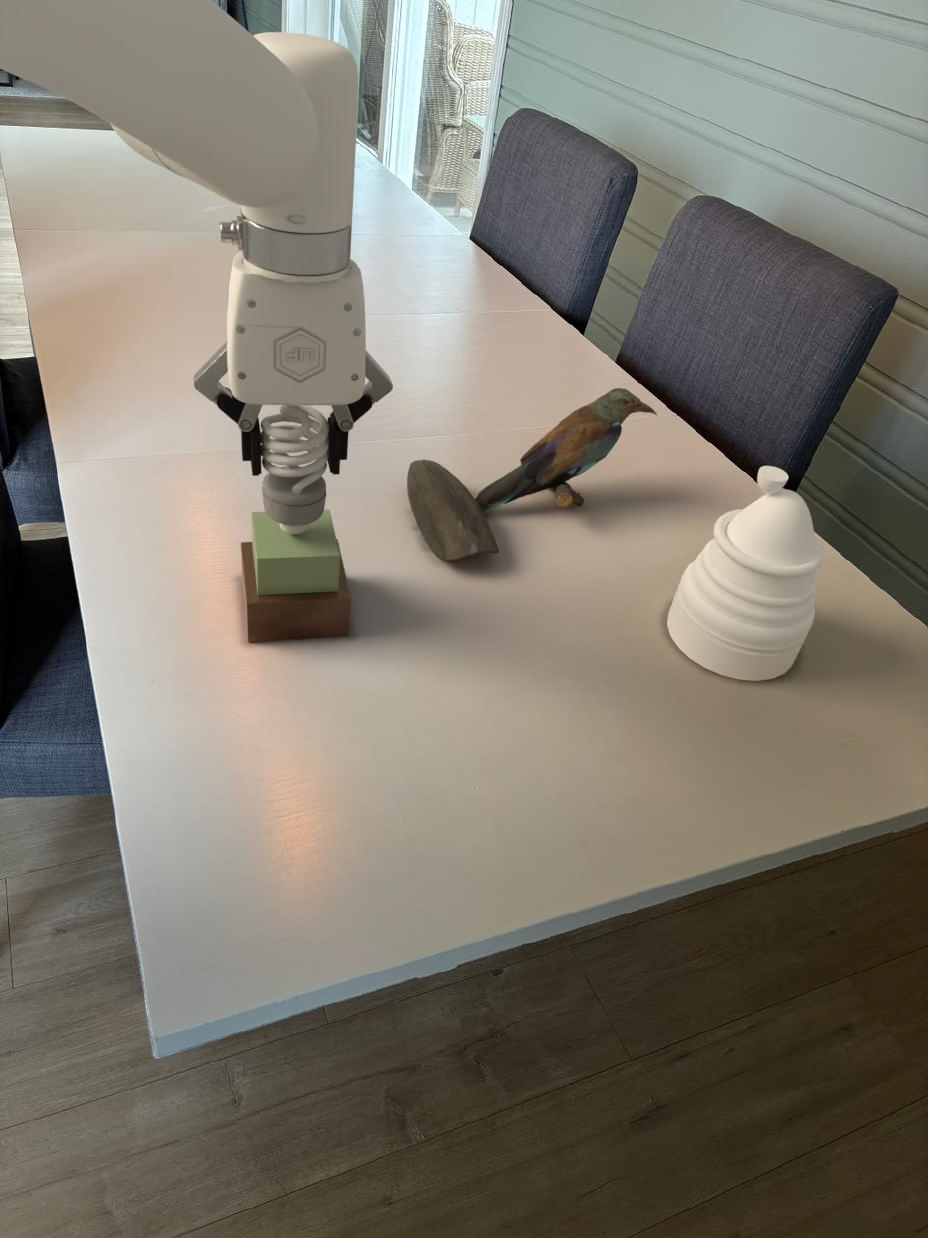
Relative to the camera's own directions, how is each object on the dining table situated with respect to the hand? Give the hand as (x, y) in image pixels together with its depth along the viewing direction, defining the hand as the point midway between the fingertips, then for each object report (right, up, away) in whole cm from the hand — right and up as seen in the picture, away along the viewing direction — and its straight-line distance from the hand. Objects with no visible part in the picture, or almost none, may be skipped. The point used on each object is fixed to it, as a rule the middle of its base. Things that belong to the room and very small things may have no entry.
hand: (294, 464), depth 75 cm
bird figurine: (+24, 0, +30) cm, 38 cm away
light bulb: (-1, -5, +5) cm, 7 cm away
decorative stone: (+12, -3, +23) cm, 26 cm away
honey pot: (+40, -15, +15) cm, 46 cm away
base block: (-2, -12, +10) cm, 15 cm away
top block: (-1, -8, +7) cm, 11 cm away
